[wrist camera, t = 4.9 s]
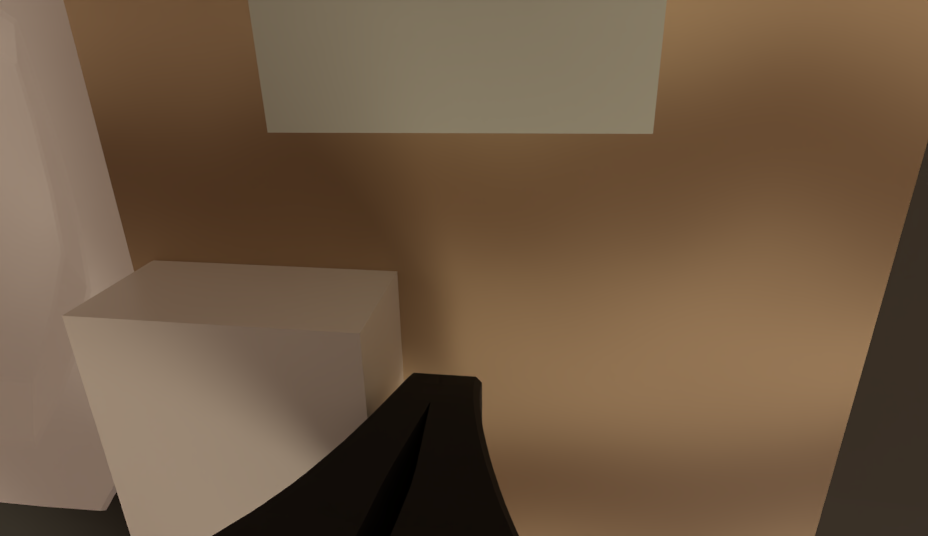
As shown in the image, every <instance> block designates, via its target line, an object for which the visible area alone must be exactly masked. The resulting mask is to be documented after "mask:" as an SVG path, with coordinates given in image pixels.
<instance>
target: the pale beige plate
mask: <svg viewBox="0 0 928 536" xmlns="http://www.w3.org/2000/svg"><path fill="white" fill-rule="evenodd" d="M133 272H134V269H133V265H132V261H131V257H130V254H129V250H128V246H127V242H126V238H125V234H124V231H123V227H122V223H121V219H120V215H119V211H118V208H117V204H116V200H115V196H114V192H113V188H112V185H111V181H110V177H109V173H108V169H107V165H106V162H105V158H104V154H103V150H102V146H101V142H100V139H99V135H98V131H97V127H96V123H95V119H94V116H93V112H92V108H91V104H90V100H89V96H88V92H87V89H86V85H85V81H84V77H83V73H82V69H81V66H80V62H79V58H78V54H77V50H76V46H75V43H74V39H73V35H72V31H71V27H70V23H69V20H68V16H67V12H66V8H65V4H64V0H0V502H3V503H13V504H23V505H33V506H44V507H57V508H70V509H83V510H97V511H103V510H107V508H108V506H109V504H110V503H111V501H112V499H113V497H114V495H115V494H116V492H117V491H116V487H115V484H114V481H113V478H112V475H111V471H110V468H109V465H108V462H107V459H106V455H105V452H104V449H103V446H102V443H101V439H100V436H99V433H98V430H97V427H96V423H95V420H94V417H93V414H92V411H91V407H90V404H89V401H88V398H87V395H86V391H85V388H84V385H83V382H82V379H81V375H80V372H79V369H78V366H77V363H76V359H75V356H74V353H73V350H72V347H71V343H70V340H69V337H68V334H67V330H66V327H65V324H64V321H63V318H62V315H64V314H66V313H67V312H69V311H70V310H72V309H74V308H75V307H77V306H79V305H80V304H82V303H84V302H85V301H87V300H89V299H90V298H92V297H94V296H95V295H97V294H98V293H100V292H102V291H103V290H105V289H107V288H108V287H110V286H112V285H113V284H115V283H117V282H118V281H120V280H121V279H123V278H125V277H126V276H128V275H130V274H131V273H133Z"/></svg>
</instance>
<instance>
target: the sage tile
mask: <svg viewBox="0 0 928 536" xmlns="http://www.w3.org/2000/svg"><path fill="white" fill-rule="evenodd" d="M666 3H667V0H248V4H249V11H250V18H251V24H252V31H253V38H254V44H255V51H256V58H257V65H258V71H259V78H260V85H261V91H262V98H263V105H264V111H265V118H266V125H267V132H268V133H541V134H653V128H654V119H655V109H656V100H657V90H658V80H659V71H660V61H661V51H662V42H663V32H664V23H665V13H666Z"/></svg>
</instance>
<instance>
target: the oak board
mask: <svg viewBox="0 0 928 536" xmlns="http://www.w3.org/2000/svg"><path fill="white" fill-rule="evenodd" d="M64 4H65V8H66V12H67V16H68V20H69V23H70V27H71V31H72V35H73V39H74V43H75V46H76V50H77V54H78V58H79V62H80V66H81V69H82V73H83V77H84V81H85V85H86V89H87V92H88V96H89V100H90V104H91V108H92V112H93V116H94V119H95V123H96V127H97V131H98V135H99V139H100V142H101V146H102V150H103V154H104V158H105V162H106V165H107V169H108V173H109V177H110V181H111V185H112V188H113V192H114V196H115V200H116V204H117V208H118V211H119V215H120V219H121V223H122V227H123V231H124V234H125V238H126V242H127V246H128V250H129V254H130V257H131V261H132V265H133V269H134V272H135V271H136V270H138V269H140V268H141V267H143V266H145V265H146V264H148V263H149V262H151V261H153V260H158V261H180V262H203V263H225V264H247V265H269V266H291V267H313V268H336V269H358V270H380V271H397V274H398V291H399V308H400V325H401V342H402V359H403V376H404V381H405V380H406V379H407V378H408V377H409V376H410V375H411V374H413V373H427V374H442V375H458V376H474V377H477V378H478V379H479V380H480V381H481V382H482V425H483V431H484V435H485V439H486V443H487V447H488V452H489V456H490V459H491V463H492V466H493V469H494V472H495V475H496V478H497V481H498V484H499V487H500V490H501V493H502V496H503V498H504V501H505V504H506V506H507V509H508V511H509V514H510V516H511V519H512V521H513V523H514V526H515V528H516V530H517V532H518V535H519V536H815V533H816V530H817V526H818V523H819V519H820V516H821V512H822V509H823V505H824V502H825V498H826V495H827V491H828V488H829V484H830V481H831V477H832V474H833V470H834V467H835V463H836V460H837V456H838V453H839V449H840V446H841V442H842V439H843V435H844V432H845V428H846V425H847V421H848V418H849V414H850V411H851V407H852V404H853V400H854V397H855V393H856V390H857V386H858V383H859V379H860V376H861V372H862V369H863V365H864V362H865V358H866V355H867V351H868V348H869V344H870V341H871V337H872V334H873V330H874V327H875V323H876V320H877V316H878V313H879V309H880V306H881V302H882V299H883V295H884V292H885V288H886V285H887V281H888V278H889V274H890V271H891V267H892V264H893V260H894V257H895V253H896V250H897V246H898V243H899V239H900V236H901V232H902V229H903V225H904V222H905V218H906V215H907V211H908V208H909V204H910V201H911V197H912V194H913V190H914V187H915V183H916V180H917V176H918V173H919V169H920V166H921V162H922V159H923V155H924V152H925V148H926V145H927V141H928V0H667V3H666V13H665V23H664V32H663V42H662V51H661V61H660V71H659V80H658V90H657V100H656V109H655V119H654V128H653V134H541V133H268V132H267V125H266V118H265V111H264V105H263V98H262V91H261V85H260V78H259V71H258V65H257V58H256V51H255V44H254V38H253V31H252V24H251V18H250V11H249V4H248V0H64Z"/></svg>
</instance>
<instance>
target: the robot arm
mask: <svg viewBox="0 0 928 536" xmlns="http://www.w3.org/2000/svg"><path fill="white" fill-rule="evenodd" d="M212 536H519V535H518V532H517V530H516V528H515V526H514V523H513V521H512V519H511V516H510V514H509V511H508V509H507V506H506V504H505V501H504V498H503V496H502V493H501V490H500V487H499V484H498V481H497V478H496V475H495V472H494V469H493V466H492V463H491V459H490V456H489V452H488V447H487V443H486V439H485V435H484V431H483V425H482V382H481V381H480V380H479V379H478V378H477V377H474V376H458V375H442V374H427V373H413V374H411V375H410V376H409V377H408V378H407V379H406V380H405V381H404V382H403V383H402V384H401V385H400V386H399V387H398V388H397V389H396V390H395V391H394V392H393V393H392V394H391V395H390V396H389V397H388V398H387V399H386V400H385V401H384V402H383V403H382V404H381V405H380V406H379V407H378V408H377V409H376V410H375V412H374V413H372V414H371V415H370V416H369V417H368V418H367V419H366V420H365V421H364V422H363V423H362V424H361V425H360V426H359V427H358V428H357V429H356V430H355V431H354V432H353V433H351V434H350V435H349V436H348V437H347V438H346V439H345V440H344V441H343V442H342V443H341V444H339V445H338V446H337V447H336V448H335V449H334V450H332V451H331V452H330V453H329V454H328V455H327V456H325V457H324V458H323V459H322V460H321V461H319V462H318V463H317V464H316V465H315V466H314V467H312V468H311V469H310V470H309V471H308V472H306V473H305V474H304V475H302V476H301V477H300V478H299V479H297V480H296V481H295V482H294V483H292V484H291V485H290V486H288V487H287V488H285V489H284V490H282V491H281V492H280V493H278V494H277V495H275V496H274V497H272V498H271V499H270V500H268V501H267V502H265V503H264V504H262V505H261V506H259V507H258V508H256V509H255V510H253V511H252V512H250V513H249V514H247V515H245V516H244V517H242V518H240V519H239V520H237V521H235V522H234V523H232V524H230V525H229V526H227V527H226V528H224V529H222V530H221V531H219V532H217V533H216V534H214V535H212Z"/></svg>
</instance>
